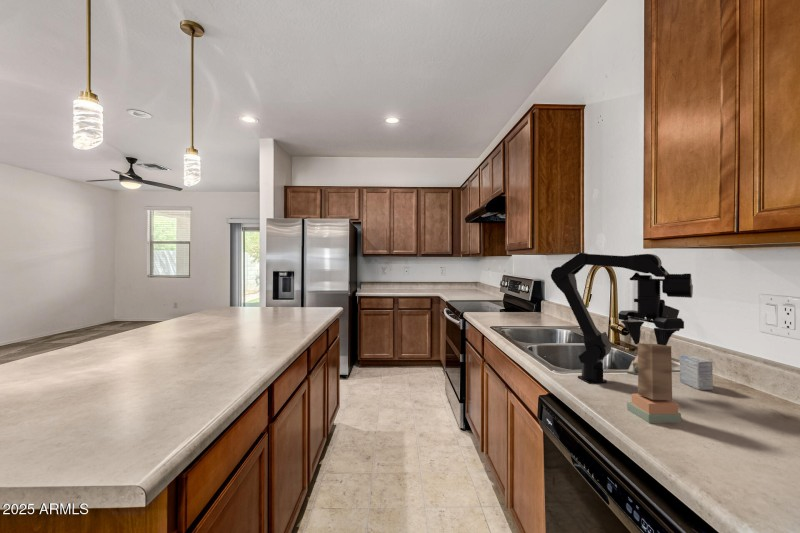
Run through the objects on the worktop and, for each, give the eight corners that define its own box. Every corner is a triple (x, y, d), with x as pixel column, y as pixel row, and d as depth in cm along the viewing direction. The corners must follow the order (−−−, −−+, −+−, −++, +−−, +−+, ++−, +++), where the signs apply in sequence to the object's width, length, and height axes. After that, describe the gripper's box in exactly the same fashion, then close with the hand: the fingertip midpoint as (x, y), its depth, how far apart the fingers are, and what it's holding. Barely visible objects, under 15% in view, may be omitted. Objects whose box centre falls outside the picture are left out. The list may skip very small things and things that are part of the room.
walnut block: (638, 394, 95) (637, 343, 96) (656, 395, 95) (655, 343, 97) (652, 399, 90) (651, 345, 91) (672, 400, 90) (671, 346, 92)
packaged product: (662, 365, 122) (627, 361, 128) (662, 380, 122) (627, 375, 128) (664, 354, 137) (632, 350, 143) (664, 367, 137) (632, 363, 143)
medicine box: (713, 390, 111) (713, 361, 111) (698, 390, 111) (698, 361, 111) (693, 381, 119) (693, 355, 119) (679, 381, 119) (679, 355, 119)
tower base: (627, 411, 97) (627, 402, 97) (656, 411, 98) (656, 401, 98) (648, 425, 89) (648, 414, 89) (680, 424, 90) (680, 413, 90)
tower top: (631, 403, 97) (631, 393, 97) (659, 403, 96) (659, 393, 96) (648, 413, 90) (648, 403, 90) (678, 414, 90) (678, 403, 89)
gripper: (701, 298, 102) (701, 354, 103) (648, 292, 121) (648, 340, 121) (665, 299, 101) (665, 356, 101) (617, 293, 120) (617, 341, 120)
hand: (648, 347), depth 111 cm, fingers open, 9 cm apart
